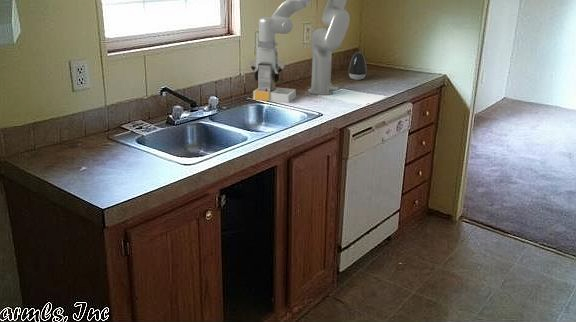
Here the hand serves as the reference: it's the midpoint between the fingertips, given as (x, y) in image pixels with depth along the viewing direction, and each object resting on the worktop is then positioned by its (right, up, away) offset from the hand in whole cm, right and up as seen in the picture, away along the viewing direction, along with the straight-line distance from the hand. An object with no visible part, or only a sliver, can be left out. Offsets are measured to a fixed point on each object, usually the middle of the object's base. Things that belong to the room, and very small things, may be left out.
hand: (266, 80), depth 259 cm
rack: (+4, -8, +2) cm, 9 cm away
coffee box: (0, -7, +3) cm, 7 cm away
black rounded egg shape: (+49, +8, +47) cm, 69 cm away
